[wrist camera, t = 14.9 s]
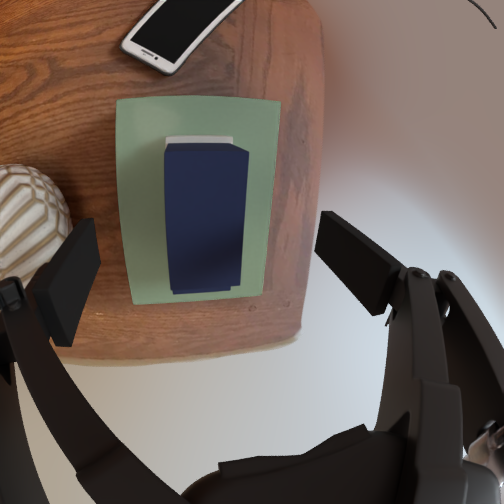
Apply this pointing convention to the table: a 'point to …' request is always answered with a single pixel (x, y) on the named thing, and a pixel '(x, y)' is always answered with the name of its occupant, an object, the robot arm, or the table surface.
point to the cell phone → (174, 31)
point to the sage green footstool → (152, 183)
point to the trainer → (204, 212)
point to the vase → (29, 221)
